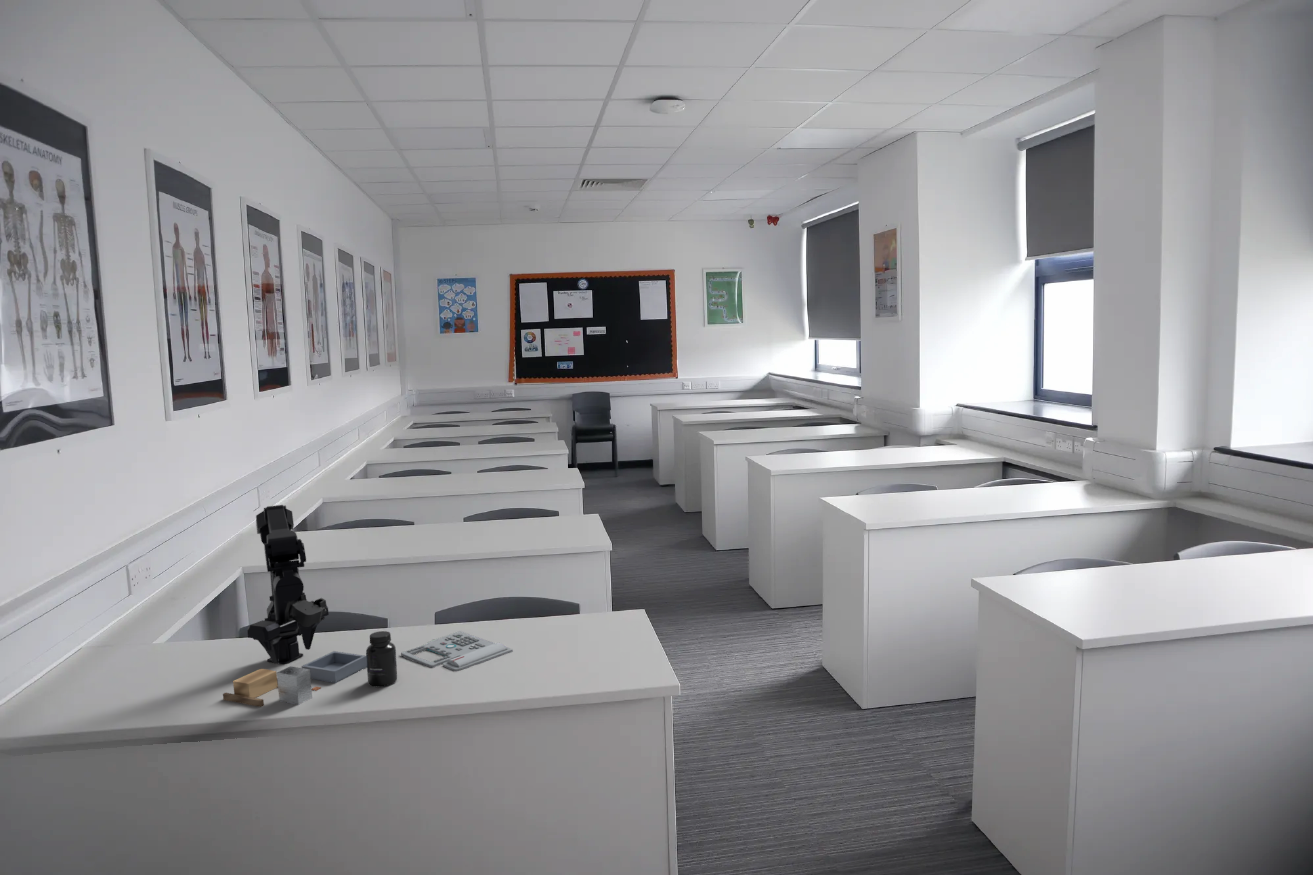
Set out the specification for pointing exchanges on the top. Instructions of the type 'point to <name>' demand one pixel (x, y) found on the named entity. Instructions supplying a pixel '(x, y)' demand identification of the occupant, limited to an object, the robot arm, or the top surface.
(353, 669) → the tray
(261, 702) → the bar
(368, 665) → the supplement bottle
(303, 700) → the block
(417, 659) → the office telephone
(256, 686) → the block
